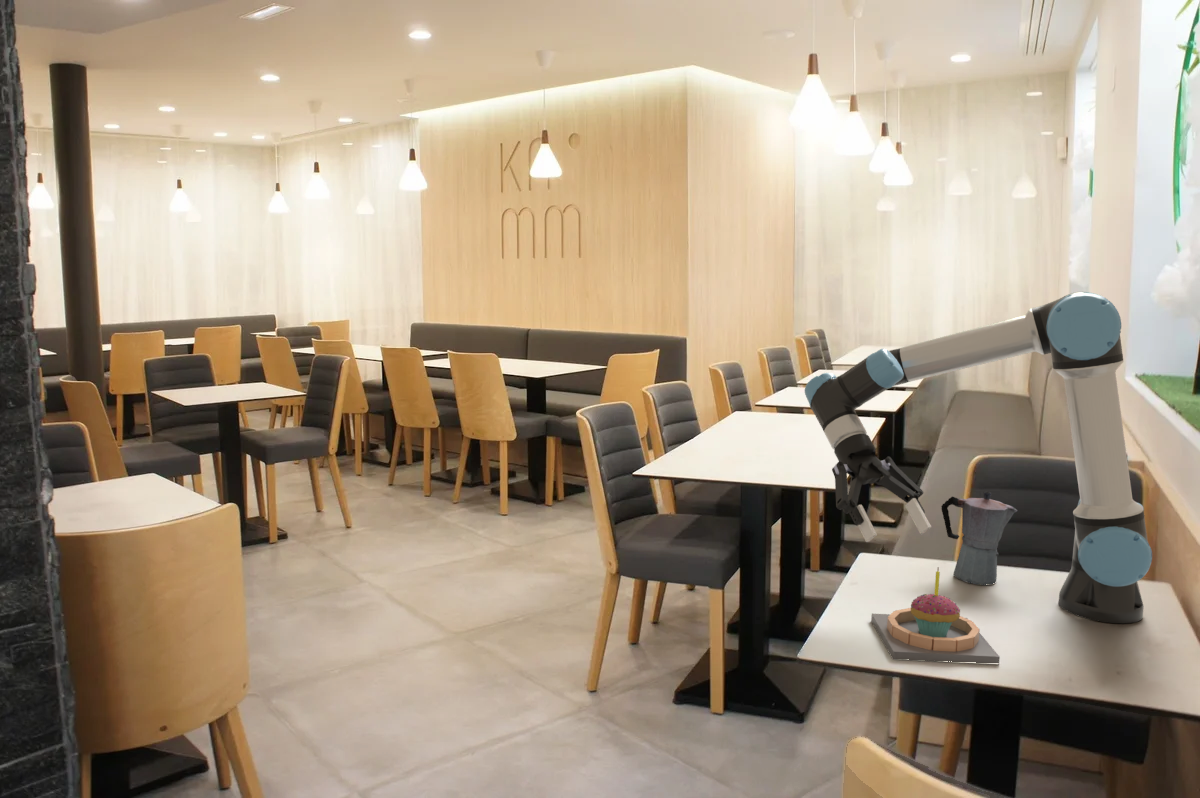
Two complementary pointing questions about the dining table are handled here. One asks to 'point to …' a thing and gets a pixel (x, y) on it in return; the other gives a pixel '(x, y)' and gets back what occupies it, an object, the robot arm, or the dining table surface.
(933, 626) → the cupcake
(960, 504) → the moka pot
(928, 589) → the dining table surface
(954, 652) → the ring dish
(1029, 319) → the robot arm
